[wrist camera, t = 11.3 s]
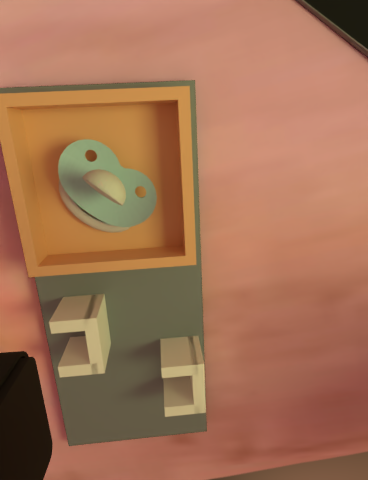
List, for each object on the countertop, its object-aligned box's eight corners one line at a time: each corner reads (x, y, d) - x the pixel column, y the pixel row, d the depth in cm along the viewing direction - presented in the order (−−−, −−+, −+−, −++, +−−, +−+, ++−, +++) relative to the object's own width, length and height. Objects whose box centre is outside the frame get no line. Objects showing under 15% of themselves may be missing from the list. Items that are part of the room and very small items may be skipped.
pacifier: (123, 245, 27) (166, 187, 26) (112, 278, 22) (168, 206, 20) (43, 192, 26) (85, 127, 24) (8, 212, 20) (61, 128, 18)
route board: (193, 82, 25) (202, 70, 20) (205, 421, 35) (213, 468, 31) (3, 90, 24) (-35, 79, 20) (71, 435, 35) (57, 485, 30)
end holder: (185, 91, 24) (189, 85, 22) (192, 252, 28) (196, 264, 26) (8, 98, 24) (-10, 93, 21) (40, 263, 27) (28, 277, 25)
